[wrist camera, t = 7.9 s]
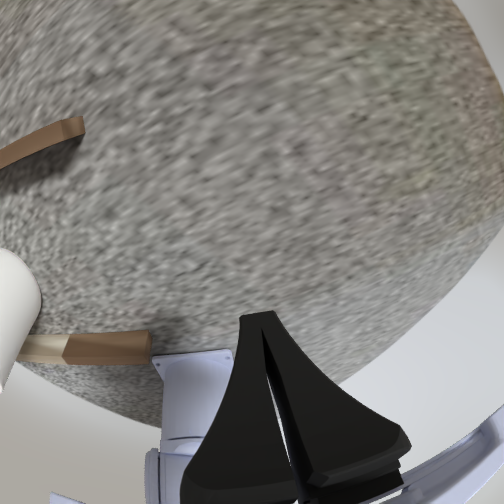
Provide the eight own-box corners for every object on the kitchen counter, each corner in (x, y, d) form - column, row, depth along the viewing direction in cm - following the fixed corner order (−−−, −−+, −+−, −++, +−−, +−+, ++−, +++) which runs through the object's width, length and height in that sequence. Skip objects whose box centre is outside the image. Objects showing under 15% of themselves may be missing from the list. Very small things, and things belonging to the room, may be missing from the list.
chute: (152, 338, 23) (148, 363, 21) (22, 341, 22) (13, 360, 19) (82, 116, 13) (60, 120, 11) (-51, 187, 12) (-70, 199, 9)
